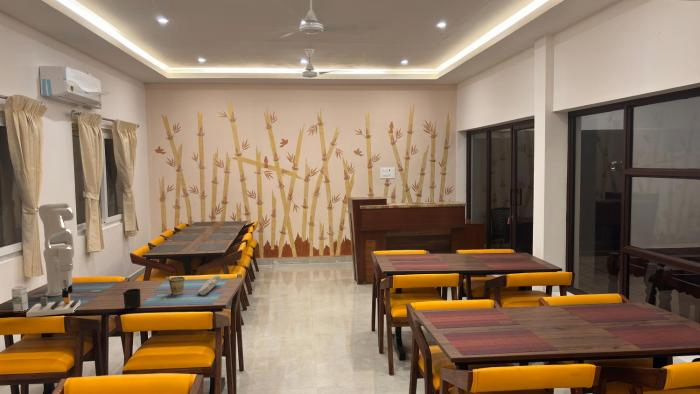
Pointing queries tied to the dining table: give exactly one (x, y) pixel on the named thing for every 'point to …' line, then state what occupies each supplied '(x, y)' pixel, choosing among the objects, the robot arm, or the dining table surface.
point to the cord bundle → (60, 301)
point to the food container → (208, 285)
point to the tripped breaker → (67, 299)
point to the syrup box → (19, 298)
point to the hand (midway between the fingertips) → (67, 295)
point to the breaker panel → (46, 309)
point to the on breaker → (44, 301)
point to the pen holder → (132, 298)
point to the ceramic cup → (177, 285)
